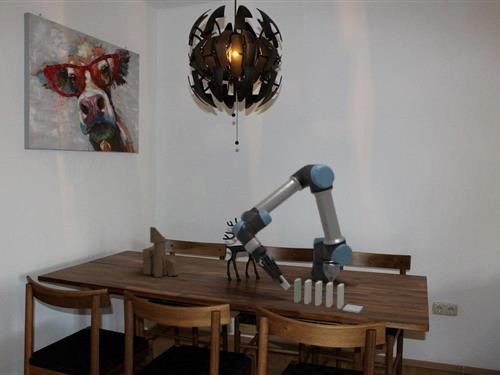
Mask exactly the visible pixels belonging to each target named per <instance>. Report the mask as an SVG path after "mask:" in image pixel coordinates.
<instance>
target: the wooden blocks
mask: <svg viewBox="0 0 500 375" xmlns="http://www.w3.org/2000/svg"><path fill="white" fill-rule="evenodd" d="M149 232H150V233H149V235H150V236H149V238H150V239H149V241H150V242H149V243H150V244H153V245H152V246H150V247H146V248H144V249H142V261H143V262H142V267H143V268H142V271H143V272H142V273H143V274H142V275H153V276H154V277H155V278H160V277H163V276H168V277H175V276H176V275H180V270H179V266H178V265H179V264H178V261H177V260H176V259H174V258H172V257H171V258H167V254H166V253H167V252H166V243H167V242H168V240H167V239H166V236H163V235H162V234H161V232H160V231H159V230H158V229H157V227H154V226H150V227H149Z"/></svg>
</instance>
